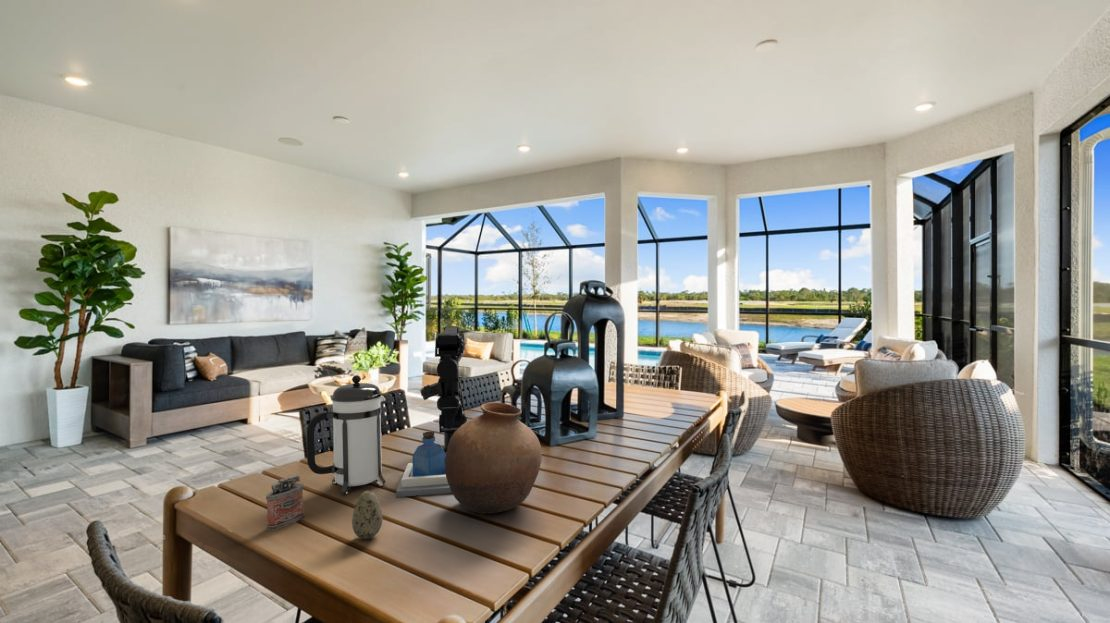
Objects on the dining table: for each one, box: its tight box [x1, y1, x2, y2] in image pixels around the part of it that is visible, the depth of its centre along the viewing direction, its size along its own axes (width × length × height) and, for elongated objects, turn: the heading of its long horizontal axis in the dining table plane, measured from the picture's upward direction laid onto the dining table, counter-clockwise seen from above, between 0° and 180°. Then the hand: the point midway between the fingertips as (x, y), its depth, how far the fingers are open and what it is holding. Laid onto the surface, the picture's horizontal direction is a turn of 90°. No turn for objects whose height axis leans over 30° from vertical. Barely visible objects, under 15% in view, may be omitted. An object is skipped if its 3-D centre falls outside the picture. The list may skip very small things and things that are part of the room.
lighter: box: [265, 474, 305, 531], centre depth 109 cm, size 8×3×10 cm, turn 148°
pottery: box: [445, 401, 543, 514], centre depth 116 cm, size 23×23×25 cm
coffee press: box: [305, 374, 386, 495], centre depth 131 cm, size 17×16×30 cm
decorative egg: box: [351, 490, 383, 540], centre depth 102 cm, size 6×6×10 cm
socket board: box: [395, 462, 452, 498], centre depth 133 cm, size 18×15×4 cm
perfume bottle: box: [412, 431, 446, 477], centre depth 133 cm, size 6×6×12 cm
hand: (450, 424), depth 148 cm, fingers open, 9 cm apart
